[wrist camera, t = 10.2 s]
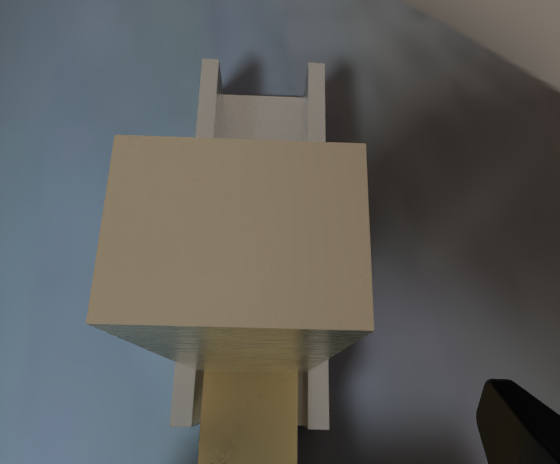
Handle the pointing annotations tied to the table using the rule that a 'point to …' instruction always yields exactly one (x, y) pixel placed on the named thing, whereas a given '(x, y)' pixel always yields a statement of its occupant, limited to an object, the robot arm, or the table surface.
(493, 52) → the table surface
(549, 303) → the table surface
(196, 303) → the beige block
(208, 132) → the u-shaped channel
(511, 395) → the robot arm
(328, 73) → the table surface
